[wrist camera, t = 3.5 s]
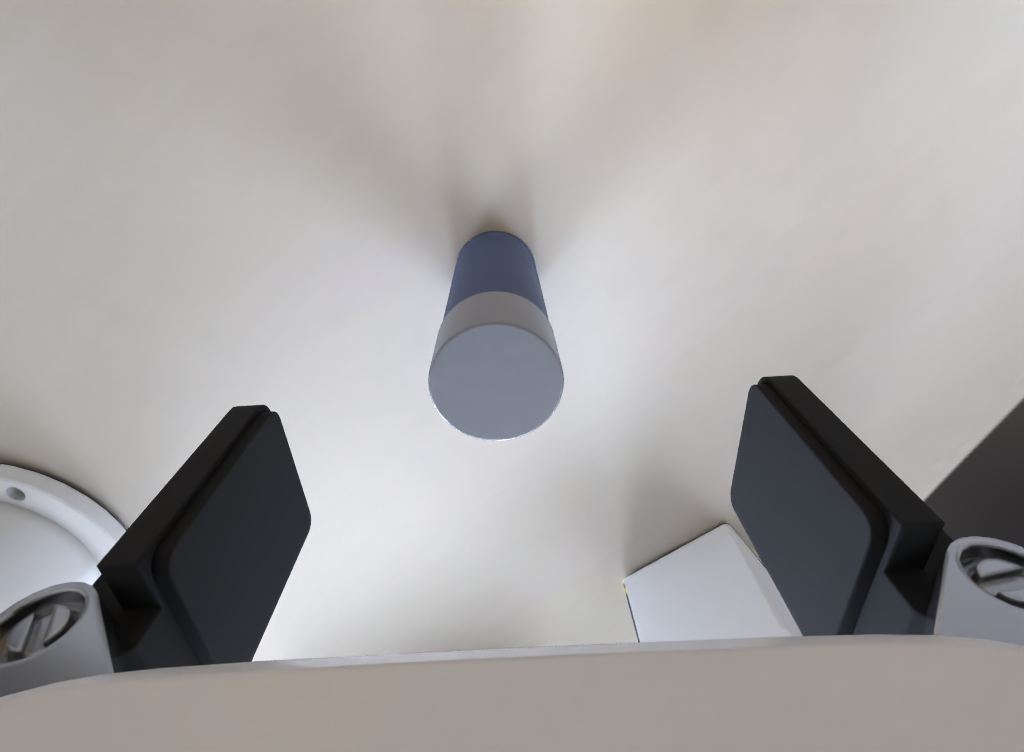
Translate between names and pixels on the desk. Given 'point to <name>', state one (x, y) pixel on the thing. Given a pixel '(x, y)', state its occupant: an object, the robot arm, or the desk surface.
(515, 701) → the robot arm
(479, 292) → the glue stick
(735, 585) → the medicine bottle
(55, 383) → the desk surface
